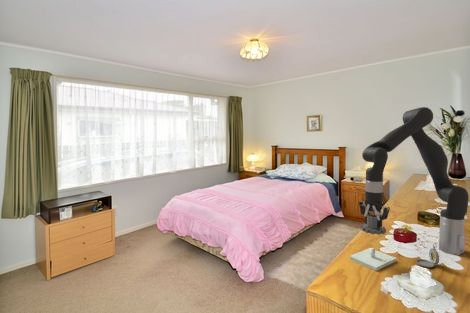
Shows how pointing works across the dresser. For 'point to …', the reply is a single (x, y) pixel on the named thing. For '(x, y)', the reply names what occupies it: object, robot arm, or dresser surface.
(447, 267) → the dresser surface
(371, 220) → the planet gear
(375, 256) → the plate
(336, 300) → the dresser surface
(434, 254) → the pocket watch
